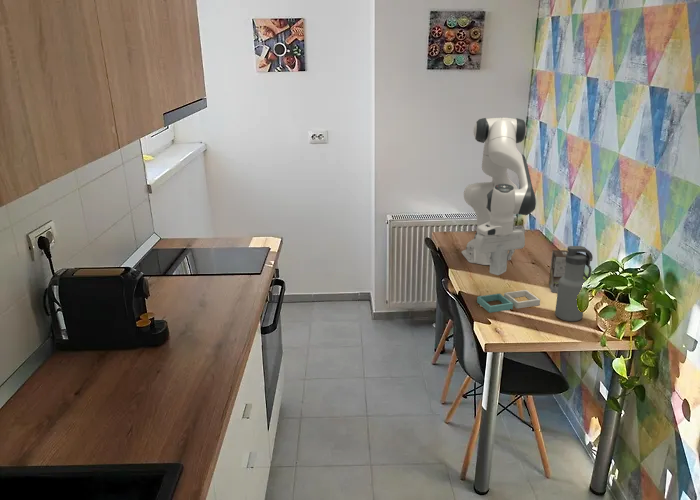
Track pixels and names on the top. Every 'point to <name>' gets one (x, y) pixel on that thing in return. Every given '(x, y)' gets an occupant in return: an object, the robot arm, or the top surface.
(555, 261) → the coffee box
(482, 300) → the shallow square trays
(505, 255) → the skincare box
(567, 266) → the water bottle
